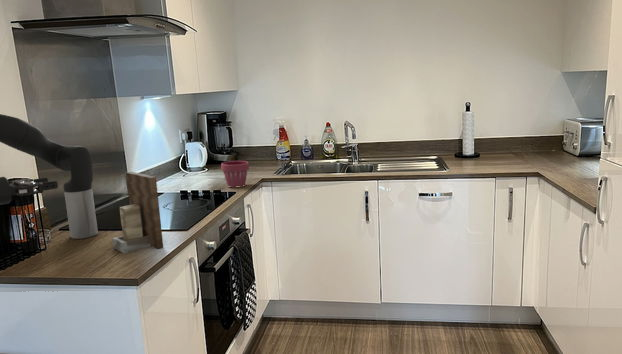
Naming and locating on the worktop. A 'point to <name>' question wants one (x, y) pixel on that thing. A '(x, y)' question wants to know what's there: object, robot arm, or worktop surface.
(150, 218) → the upright wooden board
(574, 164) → the worktop surface
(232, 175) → the plant pot
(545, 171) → the worktop surface
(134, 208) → the ridged beige block
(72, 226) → the robot arm
